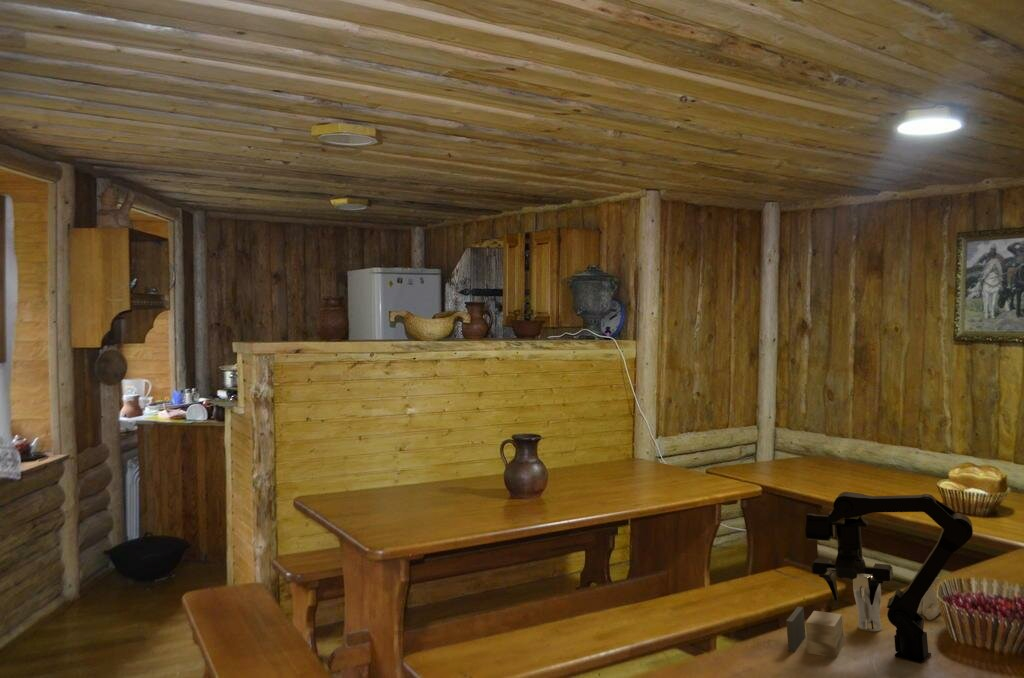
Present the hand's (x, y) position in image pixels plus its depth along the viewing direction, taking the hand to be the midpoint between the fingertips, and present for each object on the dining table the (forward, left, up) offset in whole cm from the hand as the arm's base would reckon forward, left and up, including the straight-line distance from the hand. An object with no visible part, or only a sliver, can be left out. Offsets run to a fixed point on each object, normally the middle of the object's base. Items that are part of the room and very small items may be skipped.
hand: (854, 602), depth 194 cm
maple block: (+6, +5, -12) cm, 14 cm away
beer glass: (+4, -16, -12) cm, 21 cm away
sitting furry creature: (-3, -37, -12) cm, 39 cm away
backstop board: (+13, +7, -12) cm, 19 cm away
